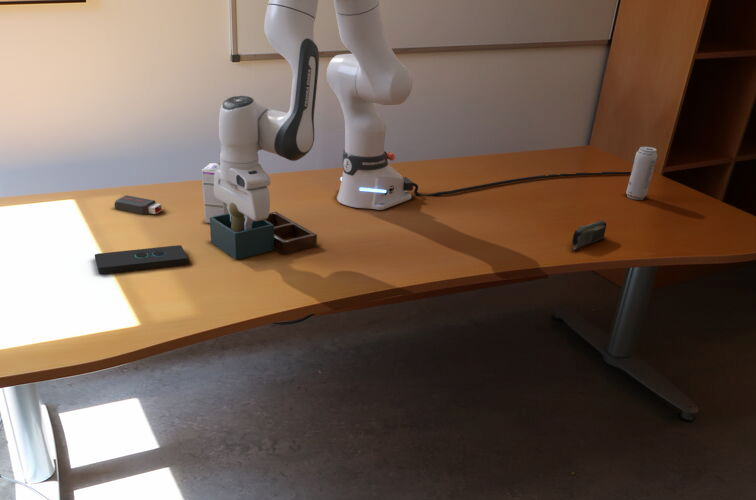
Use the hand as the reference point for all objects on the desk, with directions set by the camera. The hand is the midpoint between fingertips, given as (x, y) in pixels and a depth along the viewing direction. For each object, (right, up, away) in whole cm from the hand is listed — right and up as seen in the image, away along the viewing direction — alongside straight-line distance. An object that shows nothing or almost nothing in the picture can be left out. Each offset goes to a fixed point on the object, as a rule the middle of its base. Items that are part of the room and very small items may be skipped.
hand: (241, 226), depth 180 cm
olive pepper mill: (0, -4, +3) cm, 5 cm away
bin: (0, -4, +3) cm, 5 cm away
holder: (+9, -1, +9) cm, 12 cm away
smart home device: (-22, -10, -8) cm, 25 cm away
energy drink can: (+115, +18, +50) cm, 126 cm away
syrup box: (-8, +4, +17) cm, 19 cm away
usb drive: (-31, +8, +21) cm, 38 cm away
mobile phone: (+89, -2, +15) cm, 90 cm away
